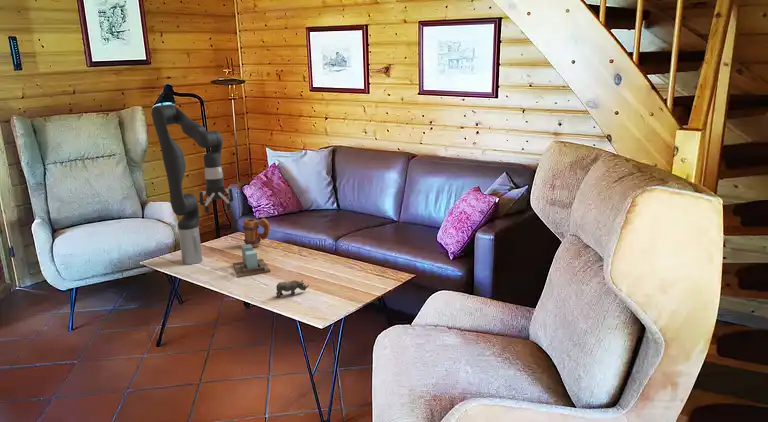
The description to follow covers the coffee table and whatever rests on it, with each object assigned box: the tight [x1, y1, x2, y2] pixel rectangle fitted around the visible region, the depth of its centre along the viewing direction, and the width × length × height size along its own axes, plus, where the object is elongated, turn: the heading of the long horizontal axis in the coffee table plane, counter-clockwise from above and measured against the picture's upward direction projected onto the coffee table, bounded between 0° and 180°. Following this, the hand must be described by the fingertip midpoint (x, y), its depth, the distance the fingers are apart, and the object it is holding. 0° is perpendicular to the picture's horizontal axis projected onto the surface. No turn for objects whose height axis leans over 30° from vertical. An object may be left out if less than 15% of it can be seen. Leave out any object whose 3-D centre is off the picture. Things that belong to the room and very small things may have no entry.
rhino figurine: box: [275, 279, 309, 298], centre depth 233 cm, size 4×14×6 cm, turn 108°
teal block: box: [245, 249, 258, 269], centre depth 261 cm, size 4×4×8 cm
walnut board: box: [232, 244, 271, 278], centre depth 264 cm, size 18×14×9 cm
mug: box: [242, 217, 271, 248], centre depth 295 cm, size 15×8×15 cm, turn 80°
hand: (217, 212), depth 255 cm, fingers open, 8 cm apart
